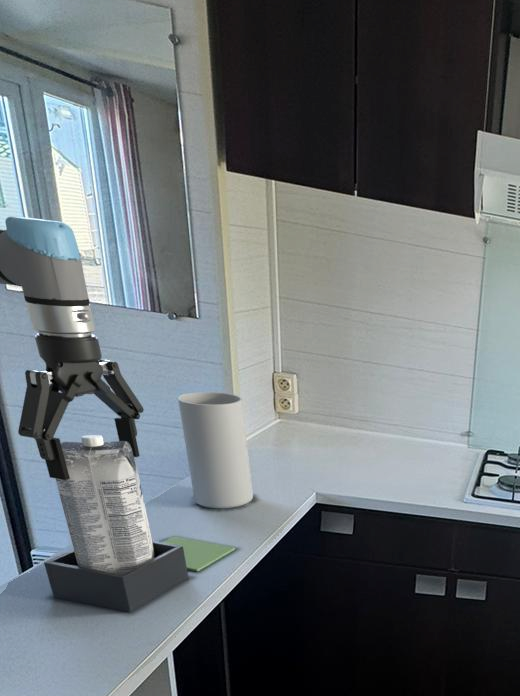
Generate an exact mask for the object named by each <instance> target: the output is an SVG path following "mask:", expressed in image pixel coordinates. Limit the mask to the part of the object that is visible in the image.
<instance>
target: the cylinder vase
mask: <svg viewBox="0 0 520 696" xmlns="http://www.w3.org/2000/svg"><path fill="white" fill-rule="evenodd" d="M177 402H178V408H179V414H180V420H181V427H182V432H183V439H184V444H185V451H186V456H187V463H188V468H189V476H190V481H191V487H192V493H193V499H194V502H195V503H196V504H198V505H199V506H202V507H205V508H210V509H232V508H237V507H241V506H244V505H246V504H249V503H250V502H251V501H252V500H253V498H254V493H253V484H252V483H253V482H252V475H251V466H250V458H249V450H248V442H247V441H248V440H247V433H246V424H245V416H244V408H243V400H242V397H241V396H238V395H237V394H232V393H226V392H214V391H200V392H189V393H184V394H181V395H178V397H177Z"/></svg>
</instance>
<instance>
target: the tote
mask: <svg viewBox="0 0 520 696" xmlns="http://www.w3.org/2000/svg"><path fill="white" fill-rule="evenodd" d="M152 543H153V549H154V556H155V558H154V559H152V560H150V561H148V562H146V563H144V564H142V565H141V566H139V567H137V568H135V569H133V570H131V571H129V572H127V573H125V574H123V575H120V574H115V573H109V572H104V571H99V570H94V569H89V568H83V567H79V566H78V563H77V559H76V556H75V552H74V549H71V550H70V551H69V550H68V551H67V552H64V553H62V554H60V555H58V556H55V557H53V558H50V559H48V560H47V561H44V562H43V565H44V569H45V571H46V575H47V578H48V582H49V586H50V590H51V592H52V597H53V598H56V599H62V600H66V601H71V602H75V603H80V604H81V603H82V604H87V605H90V606H91V605H92V606H97V607H100V608H101V607H102V608H107V609H112V610H118V611H122V612H127V613H132V612H133V611H135V610H137V609H139V608H140V607H142V606H144V605H146V604H147V603H149V602H151V601H152V600H154V599H155V598H157V597H159V596H161V595H162V594H163V593H165V592H168V591H169V590H171V589H172V588H174V587H176V586H177V585H180V584H181V583H183V582H185V581H186V580H188V579H189V578H190V577H189V572H188V570H187V566H186V561H185V555H184V550H183V546H179V545H174V544H168V543H163V541H157V540H152Z"/></svg>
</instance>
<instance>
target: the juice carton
mask: <svg viewBox="0 0 520 696" xmlns="http://www.w3.org/2000/svg"><path fill="white" fill-rule="evenodd" d="M80 439H81V442H80V441H79V442H78V441H62V442H61V446H62V450H63V454H64V458H65V462H66V466H67V469H68V473H69V477H70V479H67V480H62V479H56V478H54V479H55V482H56V487H57V491H58V494H59V498H60V502H61V507H62V509H63V513H64V517H65V521H66V526H67V529H68V532H69V537H70V540H71V545H72V547H73V550H74V552H75V556H76V559H77V563H78V566H79V567H83V568H89V569H94V570H99V571H104V572H109V573H115V574H120V575H123V574H125V573H127V572H129V571H131V570H133V569H135V568H137V567H139V566H141V565H142V564H144V563H146V562H148V561H150V560H152V559H154V558H155V556H154V549H153V543H152V541H153V539H152V533H151V530H150V524H149V520H148V519H149V518H148V515H147V509H146V505H145V500H144V494H143V490H142V489H143V488H142V485H141V481H140V475H139V470H138V467H137V462H136V460H135V457H134V456H133V452H132V448H131V446H130V444H129V443H128V442H127V441H119V440H113V441H105V442H104V438H103V435H101V434H86V435H82V436H80Z"/></svg>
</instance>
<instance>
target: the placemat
mask: <svg viewBox="0 0 520 696" xmlns="http://www.w3.org/2000/svg"><path fill="white" fill-rule="evenodd" d="M162 542H163V543H168V544H174V545H179V546H183V550H184V555H185V561H186V566H187V571H191V572H192V571H193V572H199V571H201V570H203V569H204V568H206V567H208V566H209V565H211V564H213V563H215V562H216V561H218V560H219V559H221V558H223V557H225V556H227V555H229V554H230V553H232V552H233V551H235V550H236V547H234V546H228V545H223V544H218V543H213V542H208V541H203V540H202V541H201V540H196V539H191V538H185V537H182V536H181V537H180V536H175V535H173V536H171V537H169V538H167V539H166V540H163V541H162Z"/></svg>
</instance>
